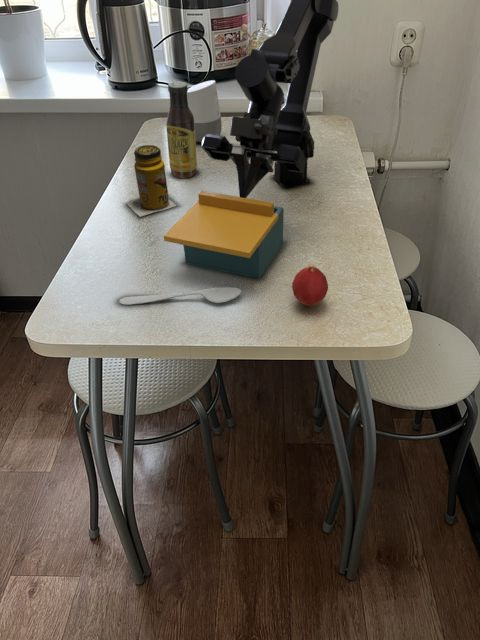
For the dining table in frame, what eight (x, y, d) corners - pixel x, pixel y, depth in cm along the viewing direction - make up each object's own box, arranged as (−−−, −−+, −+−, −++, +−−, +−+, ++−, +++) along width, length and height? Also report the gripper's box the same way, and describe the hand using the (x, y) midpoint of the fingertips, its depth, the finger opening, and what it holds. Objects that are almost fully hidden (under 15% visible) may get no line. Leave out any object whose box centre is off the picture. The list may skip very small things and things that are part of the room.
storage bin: (214, 230, 115) (211, 195, 110) (283, 243, 111) (283, 207, 106) (185, 263, 107) (181, 226, 101) (259, 278, 102) (258, 241, 97)
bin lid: (199, 204, 107) (197, 189, 105) (278, 218, 103) (278, 203, 101) (164, 241, 98) (161, 225, 96) (249, 258, 94) (249, 242, 92)
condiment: (176, 206, 123) (169, 151, 115) (139, 217, 120) (130, 161, 112) (161, 193, 128) (153, 139, 120) (125, 203, 124) (115, 149, 116)
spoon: (241, 305, 97) (241, 297, 96) (117, 309, 96) (115, 301, 95) (241, 291, 100) (240, 283, 99) (121, 294, 100) (119, 286, 98)
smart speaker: (196, 129, 155) (191, 74, 145) (228, 134, 152) (225, 77, 143) (180, 143, 148) (173, 85, 139) (212, 147, 146) (208, 89, 136)
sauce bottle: (166, 176, 134) (154, 86, 120) (178, 166, 138) (168, 77, 125) (191, 181, 132) (182, 90, 119) (203, 170, 136) (195, 80, 123)
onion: (289, 295, 99) (290, 255, 93) (323, 293, 99) (326, 253, 94) (294, 316, 94) (295, 275, 89) (329, 314, 95) (332, 273, 89)
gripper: (200, 87, 101) (178, 174, 101) (302, 99, 96) (280, 191, 95) (222, 117, 111) (202, 196, 111) (314, 129, 106) (294, 211, 106)
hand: (242, 198), depth 106 cm, fingers closed
